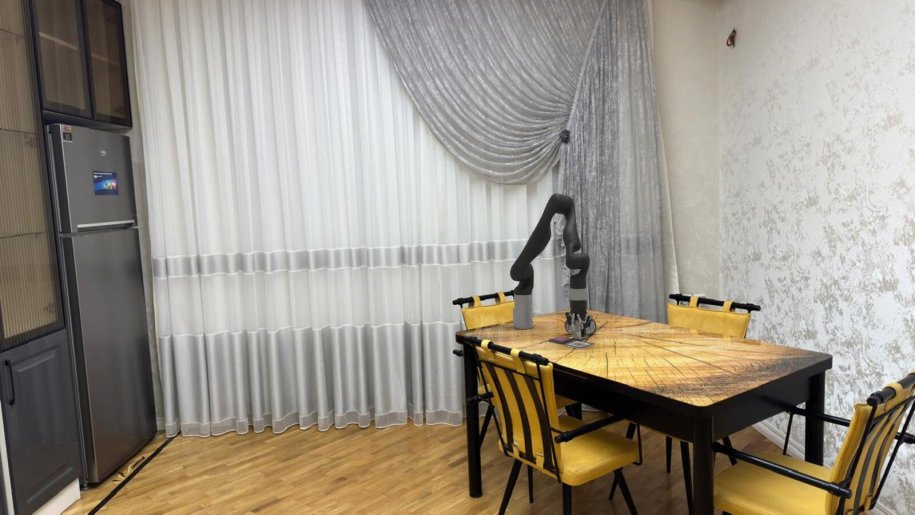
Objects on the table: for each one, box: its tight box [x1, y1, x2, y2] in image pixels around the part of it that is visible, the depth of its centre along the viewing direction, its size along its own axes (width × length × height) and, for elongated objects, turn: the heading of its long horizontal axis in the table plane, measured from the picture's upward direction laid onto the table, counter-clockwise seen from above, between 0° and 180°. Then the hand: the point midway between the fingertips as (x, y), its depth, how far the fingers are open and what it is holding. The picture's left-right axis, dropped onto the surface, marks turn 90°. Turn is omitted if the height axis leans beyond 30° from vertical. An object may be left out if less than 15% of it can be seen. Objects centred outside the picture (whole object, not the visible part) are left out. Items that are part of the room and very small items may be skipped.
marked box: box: [562, 340, 596, 350], centre depth 270 cm, size 10×10×1 cm
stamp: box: [571, 320, 587, 341], centre depth 270 cm, size 5×5×9 cm
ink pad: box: [548, 335, 575, 345], centre depth 278 cm, size 8×8×1 cm
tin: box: [564, 317, 597, 336], centre depth 289 cm, size 15×3×8 cm, turn 84°
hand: (579, 335), depth 270 cm, fingers closed on stamp, 4 cm apart
